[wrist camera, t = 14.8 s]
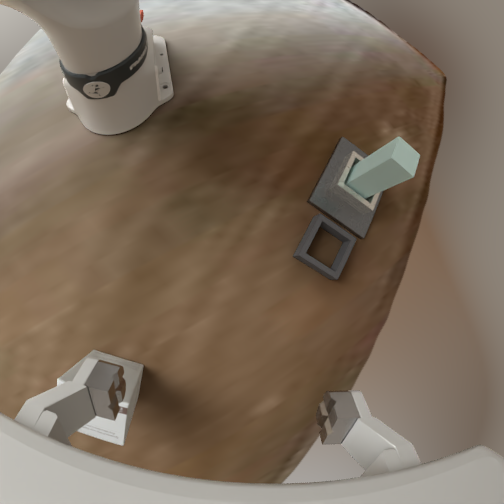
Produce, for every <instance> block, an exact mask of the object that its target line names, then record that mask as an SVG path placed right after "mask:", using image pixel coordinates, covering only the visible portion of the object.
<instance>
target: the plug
mask: <svg viewBox="0 0 504 504" xmlns="http://www.w3.org/2000/svg"><path fill="white" fill-rule="evenodd" d="M419 158H420V154H419V153H417V152H416V151H415V150H414V149H413V148H412V147H411V146H410V145H409V144H407V143H406V142H405V141H404V140H403V139H402V138H401V137H399V136H398V137H397V138H395V139H394V140H392V141H391V142H389V143H388V144H386V145H385V146H383V147H381V148H380V149H378V150H377V151H375V152H374V153H372V154H371V155H369V156H368V157H366V158H365V159H363V160H362V161H360V162H358V163H357V164H355V165H354V166H352V167H351V169H350V171H349V173H348V175H347V177H346V179H345V181H344V184H345V185H346V186H348V187H349V188H351V189H352V190H353V191H355V192H356V193H357V194H359V195H360V196H361V197H363V198H364V199H365V198H368V197H370V196H372V195H374V194H377V193H379V192H381V191H383V190H386V189H388V188H390V187H393V186H395V185H397V184H399V183H402V182H404V181H406V180H409V179H411V178H413V177H414V175H415V172H416V168H417V165H418V161H419Z"/></svg>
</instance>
